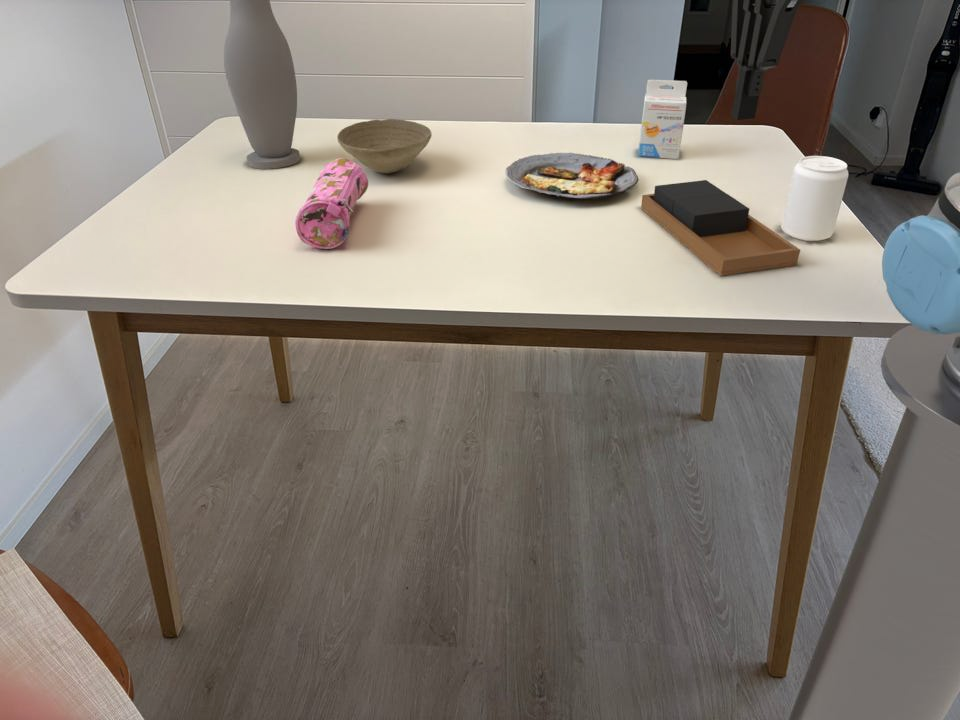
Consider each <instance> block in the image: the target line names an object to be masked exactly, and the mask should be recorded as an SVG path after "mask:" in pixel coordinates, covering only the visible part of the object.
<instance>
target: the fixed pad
mask: <svg viewBox="0 0 960 720" xmlns="http://www.w3.org/2000/svg"><path fill="white" fill-rule="evenodd" d="M653 194H654V199H653V200H654V201H655V202H656V203H658V204H659V205H660V206H661V207H663V208H664V209H665V210H666V211H668V212H669V213H670V214H671V215H672V212H673V205H674V200H679V199H687V198H696V197H704V196H712V195H721V194H727V193H726V192H725V191H724V190H722V189H721V188H720V187H717V186H716V185H715V184H714V183H711V182H710V181H709V180H708V179H703V180H694V181H687V182H685V181H684V182H677V183H675V182H674V183H668V184H667V183H666V184H660V185H659V184H657V185H655V186H654V191H653Z"/></svg>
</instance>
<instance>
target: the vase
mask: <svg viewBox="0 0 960 720" xmlns="http://www.w3.org/2000/svg"><path fill="white" fill-rule="evenodd" d="M229 9H230V10H229V11H230V14H229V15H230V17H229V25H228V28H227V33H226V37H225V40H224V48H223V66H224V68H223V69H224V74H225V78H226V81H227V85H228V88H229V92H230V94H231V97H232V100H233V103H234V105H235V109H236V111H237V114H238V117H239V120H240V122H241V124H242V127H243V130H244V132H245V135H246V137H247V140H248V142H249V144H250V146H251V149H252V150H253V151H252V152H250V153H248V154H247V155H246V161H247V164H248V166H249V167H250V168H252V169H257V170H259V169H260V170H261V169H262V170H269V169H270V170H271V169H280V168H285V167H290V166H293V165H295V164H297V163H299V162H300V161H301V154H300V151H299V150H298V148H297V149H296V148H293V146H292V145H293V139H294V133H295V128H296V127H295V126H296V119H297V112H298V89H297V78H296V77H297V76H296V71H295V66H294V61H293V56H292V51H291V49H290V45H289V44H288V40H287V38H286V37H285V36H286V35H285V34H284V33H283V31H282V29H281V27H280V26H279V24H278V22H277V20H276V17H275V15H274V11H273V9H272V5H271V1H270V0H229Z"/></svg>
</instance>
